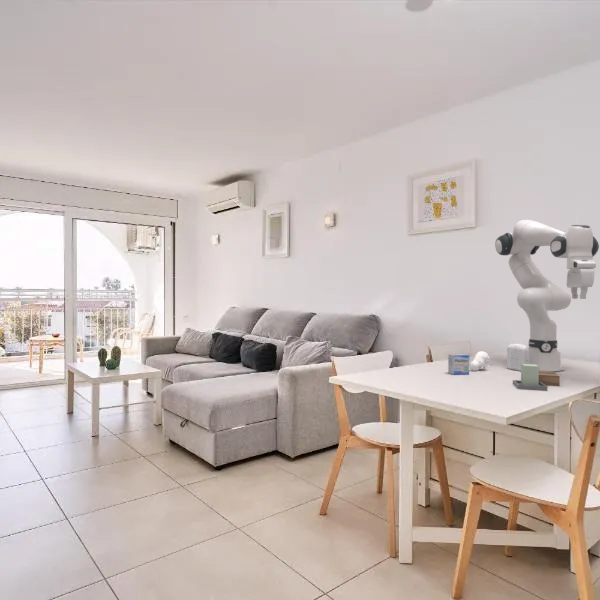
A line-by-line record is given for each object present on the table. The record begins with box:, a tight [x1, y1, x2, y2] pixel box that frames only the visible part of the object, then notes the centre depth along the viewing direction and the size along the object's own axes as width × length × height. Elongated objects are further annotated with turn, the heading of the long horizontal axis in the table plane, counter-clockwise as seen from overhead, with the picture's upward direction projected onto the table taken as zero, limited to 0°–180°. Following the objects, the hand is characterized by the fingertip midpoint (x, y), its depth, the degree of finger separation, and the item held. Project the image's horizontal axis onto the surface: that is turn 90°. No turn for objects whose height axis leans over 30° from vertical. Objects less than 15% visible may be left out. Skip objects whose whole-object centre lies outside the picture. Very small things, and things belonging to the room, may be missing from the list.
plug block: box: [520, 364, 539, 386], centre depth 175 cm, size 5×5×8 cm
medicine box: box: [447, 353, 470, 376], centre depth 202 cm, size 8×4×9 cm, turn 101°
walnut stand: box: [539, 371, 561, 387], centre depth 184 cm, size 10×10×4 cm
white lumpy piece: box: [469, 351, 491, 372], centre depth 213 cm, size 6×8×12 cm
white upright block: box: [506, 343, 529, 372], centre depth 214 cm, size 10×4×12 cm, turn 28°
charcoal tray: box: [512, 379, 549, 392], centre depth 175 cm, size 10×10×2 cm
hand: (578, 298), depth 184 cm, fingers open, 8 cm apart
